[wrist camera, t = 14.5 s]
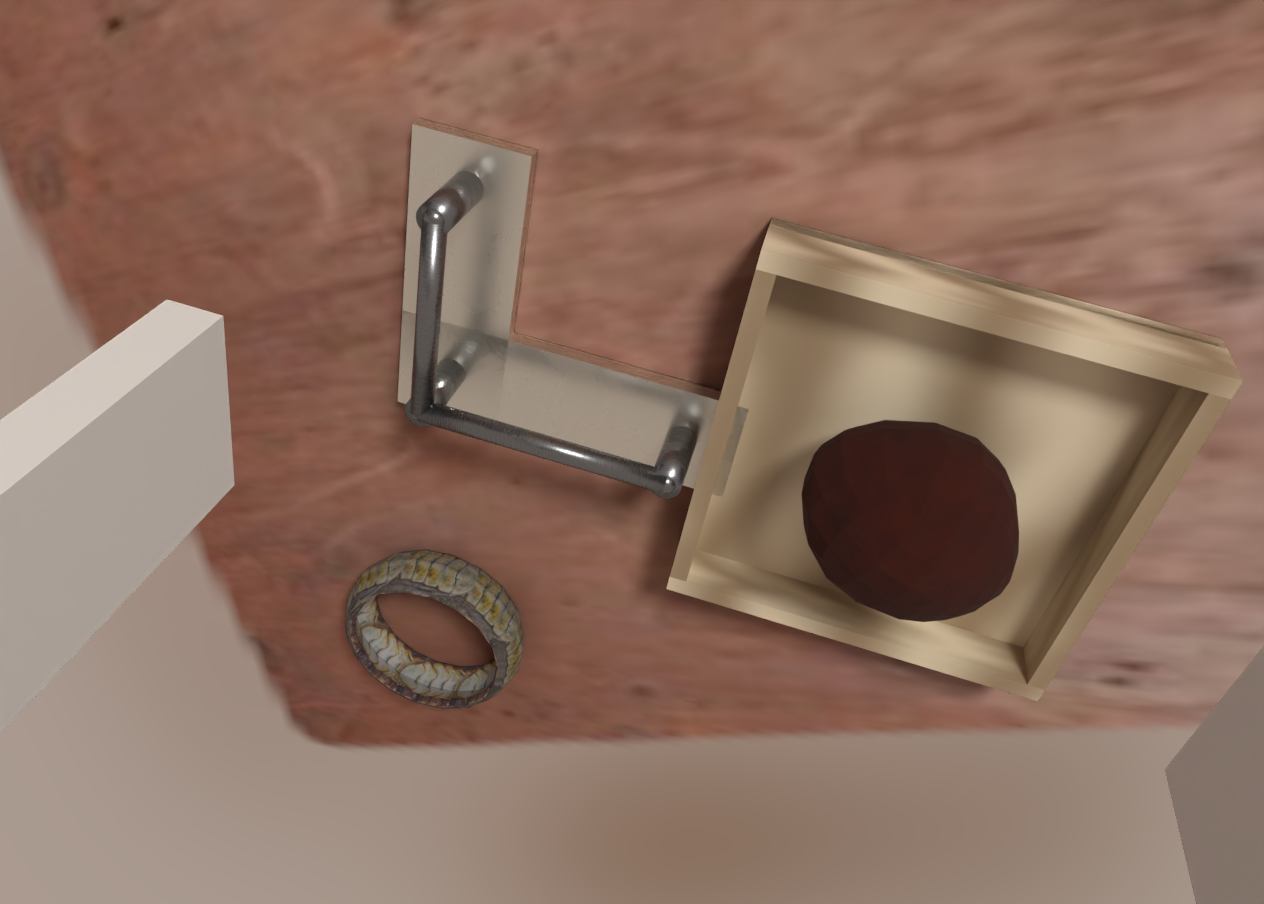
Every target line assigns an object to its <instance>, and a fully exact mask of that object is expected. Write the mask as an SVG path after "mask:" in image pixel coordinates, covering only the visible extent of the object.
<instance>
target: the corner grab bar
mask: <svg viewBox="0 0 1264 904" xmlns="http://www.w3.org/2000/svg"><path fill="white" fill-rule="evenodd" d="M537 153H538V150H536V149H533V148H529V147H525V146H521V145H518V144H514V143H510V142H507V141H503V140H499V139H495V138H492V137H488V136H484V135H480V134H477V133H473V132H469V131H466V130H462V129H458V128H454V127H451V126H447V125H443V124H440V123H436V122H432V121H428V120H425V119H421V118H420V119H419V120H417V121H416V122H415V123H413V124H412V139H411V158H410V177H409V196H408V215H407V234H406V252H405V271H404V290H403V309H402V328H401V347H400V366H399V384H398V402H401V403H404V404H406V405H405V414H406V416H407V418H408V419H409V420H410V421H411V422H412V423H414V424H415V425H418V426H422V427H426V426H430V425H432V426H435V427H438V428H442V429H445V430H449V431H452V432H455V433H459V434H462V435H466V436H469V437H472V438H476V439H479V440H483V441H486V442H489V443H493V444H496V445H499V446H503V447H506V448H510V449H513V450H516V451H520V452H523V453H527V454H530V455H533V456H537V457H540V458H543V459H547V460H550V461H554V462H557V463H560V464H564V465H567V466H571V467H574V468H577V469H581V470H584V471H588V472H591V473H594V474H598V475H601V476H604V477H608V478H611V479H615V480H618V481H621V482H625V483H628V484H632V485H635V486H638V487H642V488H645V489H649V490H651V491H652V492H653V493H654V494H655V495H657V496H659V497H661V498H666V499H669V498H674V497H676V496H677V495H678V494H679V493H680V491H681V488H682V485H683V486H687V487H690V488H693V489H694V488H695V484H696V481H697V477H698V474H699V470H700V467H701V463H702V459H703V456H704V452H705V449H706V445H707V442H708V438H709V434H710V431H711V427H712V424H713V420H714V417H715V413H716V409H717V406H718V402H719V399H720V395H721V392H722V391H719V390H716V389H712V388H709V387H705V386H701V385H698V384H694V383H691V382H687V381H684V380H680V379H677V378H673V377H670V376H666V375H663V374H659V373H656V372H652V371H649V370H645V369H642V368H638V367H635V366H631V365H628V364H624V363H621V362H617V361H614V360H610V359H607V358H603V357H600V356H596V355H593V354H589V353H586V352H582V351H579V350H575V349H572V348H568V347H565V346H561V345H558V344H554V343H551V342H547V341H544V340H540V339H537V338H533V337H530V336H526V335H523V334H519V333H516V332H514V331H515V323H516V316H517V308H518V300H519V292H520V285H521V277H522V269H523V262H524V254H525V246H526V238H527V231H528V223H529V215H530V207H531V200H532V192H533V184H534V176H535V169H536V161H537ZM738 407H739V406H738ZM738 409H739V408H737V412H736V413H737V414H738V416H739V417H737V415H736V417H737V418H739V420H740V419H742V418H743V419H742V421H743V422H739V423H741V425H742V426H744V422H745V420H746V419H745V418H746V417H747V414H748V411H749V409H746V408H741V407H740V409H739V410H738ZM743 410H745V411H743ZM747 410H748V411H747ZM738 411H740V412H741V413H742V414H741V415H739V413H738ZM743 415H744V416H743ZM745 415H746V416H745ZM741 416H742V418H740V417H741ZM737 418H736V419H737ZM734 419H735V418H734ZM736 419H735V420H736ZM744 419H745V420H744ZM734 422H735V421H734ZM734 422H733V423H734ZM739 423H738V424H739ZM736 424H737V421H736ZM738 424H737V425H738ZM741 425H738V427H739V426H741ZM742 426H741V429H742ZM732 427H733V426H732ZM736 427H737V426H736ZM738 427H737V428H738ZM731 429H735V427H734V428H731ZM735 430H736V429H735ZM739 430H740V429H739ZM732 431H733V430H731V433H732ZM741 431H742V430H741ZM741 431H739V433H737V432H738V431H737V432H735V431H734V432H733V434H732V435H734V434H735V433H736V434H737V436H736V437H738V436H739V435H738V434H740V432H741ZM731 433H730V435H731ZM736 434H735V435H736ZM730 435H729V436H730ZM740 435H741V434H740ZM730 437H732V436H730ZM730 437H729V438H728V440H731V439H732V438H733V437H732V438H731V439H730ZM738 438H740V436H739V437H738ZM738 438H737V440H738ZM732 440H735V441H734V442H736V441H737V440H736V439H735V437H734V438H733V439H732ZM732 440H731V441H732ZM734 442H733V443H734ZM738 442H739V440H738ZM738 442H736V444H737V443H738ZM729 443H731V442H729ZM731 444H732V443H731ZM736 444H735V445H736ZM738 444H739V443H738ZM727 445H729V444H727ZM727 445H726V447H727ZM735 445H733V449H734V446H735ZM730 446H731V445H730ZM737 446H738V445H736V446H735V447H737ZM728 448H729V446H728V447H727V448H726V449H728ZM726 449H725V450H726ZM733 449H732V450H733ZM736 450H737V449H736ZM736 450H735V451H736ZM726 451H727V450H726ZM726 451H725V453H726ZM730 451H731V450H730ZM730 451H729V452H730ZM735 451H734V452H735ZM725 453H724V454H725ZM728 454H729V453H728ZM728 454H726V456H728ZM730 454H731V453H730ZM731 456H732V457H733V455H731ZM728 457H730V455H729V456H728ZM728 457H727V458H728ZM725 458H726V457H725ZM725 458H724V459H725ZM727 458H726V459H727ZM733 458H734V457H733ZM727 460H728V459H727ZM729 460H730V458H729ZM730 461H731V460H730ZM722 462H723V461H722ZM722 462H721V463H722ZM724 462H725V460H724ZM726 462H728V463H732V461H731V462H729V461H726ZM728 463H727V464H726V467H728V466H727V465H730V464H728ZM722 465H723V464H722ZM722 465H721V466H722ZM721 466H720V467H721ZM726 467H725V468H726ZM730 467H731V466H730ZM722 468H723V467H722ZM730 469H731V468H730ZM730 469H729V468H728V471H730ZM719 471H720V472H721V474H722V471H721V469H720V470H719ZM720 472H719V473H720ZM719 473H718V474H719ZM726 473H727V469H726ZM729 473H730V472H729ZM721 474H720V476H721ZM724 476H725V474H724ZM726 476H727V475H726ZM718 477H719V475H718ZM727 477H728V476H727ZM727 477H726V478H727ZM722 478H723V477H722ZM723 479H725V477H724V478H723ZM727 479H728V478H727ZM716 481H717V480H716ZM721 481H722V480H721ZM721 481H720V482H719V483H720V484H721ZM725 482H726V481H725ZM717 483H718V482H717ZM726 483H727V482H726ZM715 484H716V482H715ZM722 484H723V483H722ZM723 485H724V484H723ZM716 486H717V484H716ZM721 486H722V485H721ZM724 486H725V485H724ZM724 486H723V487H724ZM719 487H720V486H719ZM723 487H722V488H723ZM715 489H716V488H714V490H715ZM717 489H718V488H717ZM719 489H720V488H719ZM724 490H725V489H724ZM716 491H717V490H716ZM718 491H720V490H718ZM721 492H722V491H721ZM713 493H714V492H713ZM722 495H723V494H722ZM717 496H718V495H717ZM721 497H722V496H721Z"/></svg>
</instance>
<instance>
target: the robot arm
mask: <svg viewBox="0 0 1264 904" xmlns="http://www.w3.org/2000/svg"><path fill="white" fill-rule="evenodd" d="M233 486H234V471H233V456H232V441H231V426H230V411H229V396H228V381H227V365H226V350H225V335H224V320H223V316H222V315H219V314H215V313H212V312H208V311H205V310H201V309H198V308H194V307H191V306H188V305H184V304H181V303H177V302H174V301H170V300H166V301H164V302H163V303H161V304H160V305H159V306H157V307H156V308H155V309H153V310H152V311H150V312H149V313H148V314H146V315H145V316H144V317H142V318H141V319H139V320H138V321H137V322H135V323H134V324H132V325H131V326H130V327H128V328H127V329H126V330H124V331H123V332H121V333H120V334H119V335H117V336H116V337H115V338H113V339H112V340H110V341H109V342H108V343H106V344H105V345H103V346H102V347H101V348H99V349H98V350H97V351H95V352H94V353H92V354H91V355H90V356H88V357H87V358H85V359H84V360H83V361H81V362H80V363H79V364H77V365H76V366H74V367H73V368H72V369H70V370H69V371H68V372H66V373H65V374H63V375H62V376H61V377H59V378H58V379H57V380H55V381H54V382H53V383H51V384H50V385H48V386H47V387H45V388H44V389H43V390H41V391H40V392H39V393H37V394H36V395H35V396H33V397H32V398H30V399H29V400H27V401H26V402H25V403H24V404H22V405H21V406H19V407H18V408H16V409H15V410H14V411H12V412H11V413H10V414H8V415H7V416H5V417H4V418H3V419H1V420H0V733H1V732H2V731H3V730H4V729H5V728H6V727H7V726H8V725H9V724H10V723H11V722H12V721H13V720H14V718H16V716H17V715H18V714H19V713H20V712H21V711H22V710H23V709H24V708H25V707H26V706H27V705H28V704H29V703H30V702H31V700H32V699H33V698H34V697H35V696H36V695H37V694H38V693H39V692H40V691H41V690H42V689H43V688H44V687H45V685H47V684H48V682H49V681H50V680H51V679H52V678H53V677H54V676H55V675H56V674H57V673H58V672H59V671H60V670H61V669H62V668H63V666H64V665H65V664H66V663H67V662H68V661H69V660H70V659H71V658H72V657H73V656H74V655H75V654H76V653H77V652H78V651H79V649H80V648H81V647H82V646H83V645H84V644H85V643H86V642H87V641H88V640H89V639H90V638H91V637H92V636H93V635H94V633H96V631H97V630H98V629H99V628H100V627H101V626H102V625H103V624H104V623H105V622H106V621H107V620H108V619H109V617H111V616H112V614H113V613H114V612H115V611H116V610H117V609H118V608H119V607H120V606H121V605H122V604H123V603H124V602H125V601H126V600H127V598H128V597H129V596H130V595H131V594H132V593H133V592H134V591H135V590H136V589H137V588H138V587H139V586H140V585H141V584H142V583H143V582H144V580H145V579H146V578H147V577H148V576H149V575H150V574H151V573H152V572H153V571H154V570H155V569H156V568H157V567H158V566H159V564H160V563H161V562H162V561H163V560H164V559H165V558H166V557H167V556H168V555H169V554H170V553H171V552H172V551H173V550H174V549H175V548H176V547H177V545H178V544H179V543H180V542H181V541H182V540H183V539H184V538H185V537H186V536H187V535H188V534H189V533H190V532H191V531H192V530H193V528H194V527H195V526H196V525H197V524H198V523H199V522H200V521H201V520H202V519H203V518H204V517H205V516H206V515H207V514H208V513H209V511H210V510H211V509H212V508H213V507H214V506H215V505H216V504H217V503H218V502H219V501H220V500H221V499H222V498H223V497H224V496H225V494H226V493H227V492H228V491H229V490H230V489H231V488H232V487H233ZM1165 772H1166V776H1167V781H1168V785H1169V789H1170V793H1171V798H1172V802H1173V806H1174V811H1175V815H1176V819H1177V823H1178V828H1179V832H1180V836H1181V841H1182V845H1183V849H1184V853H1185V858H1186V861H1187V866H1188V870H1189V875H1190V879H1191V883H1192V888H1193V892H1194V896H1195V901H1196V904H1264V647H1263V648H1262V649H1261V650H1260V652H1259V653H1258V654H1257V655H1256V657H1255V658H1254V659H1253V660H1252V662H1251V663H1250V664H1249V665H1248V667H1247V668H1246V669H1245V670H1244V672H1243V673H1242V674H1241V675H1240V677H1239V678H1238V679H1237V680H1236V682H1235V683H1234V684H1233V685H1232V686H1231V688H1230V689H1229V690H1228V691H1227V693H1226V694H1225V695H1224V696H1223V698H1222V699H1221V700H1220V701H1219V703H1218V704H1217V705H1216V706H1215V708H1214V709H1213V710H1212V711H1211V713H1210V714H1209V715H1208V716H1207V718H1206V719H1205V720H1204V721H1203V723H1202V724H1201V725H1200V726H1199V728H1198V729H1197V730H1196V731H1195V732H1194V734H1193V735H1192V736H1191V737H1190V739H1189V740H1188V741H1187V742H1186V744H1185V745H1184V746H1183V747H1182V749H1181V750H1180V751H1179V753H1178V754H1177V755H1176V756H1175V757H1174V759H1173V760H1172V761H1171V762H1170V764H1169V765H1168V766H1167V767H1166V769H1165Z"/></svg>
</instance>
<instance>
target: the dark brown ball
mask: <svg viewBox="0 0 1264 904" xmlns="http://www.w3.org/2000/svg"><path fill="white" fill-rule="evenodd" d="M801 494H802V508H803V523H804V529H805V533H806V538H807V542H808V545H809V547H810V549H811V551H812V553H813V554H814V556H815V558H816V560H817V562H818V564H819V565H820V567H821V569H822V571H823V573H824V575H825V577H826V578H827V579H828V580H829V581H831V582H832V583H833V584H834V585H836V586H837V587H838V588H840V589H841V590H842V591H843V592H845V593H846V594H847V595H848V596H850V597H851V598H852V599H853V600H855V601H856V602H857V603H859V604H862V605H864V606H867V607H869V608H872V609H874V610H877V611H879V612H882V613H884V614H887V615H889V616H892V617H894V618H897V619H900V620H909V621H918V622H930V621H941V620H948V619H952V618H956V617H959V616H963V615H966V614H969V613H972V612H975V611H976V610H977V609H979V608H980V607H982V606H983V605H985V604H986V603H988V602H989V601H991V600H993V599H994V598H996V597H997V596H999V595H1001V593H1002V592H1003V591H1004V589H1005V588H1006V586H1007V585H1008V584H1009V582H1010V580H1011V577H1012V574H1013V571H1014V568H1015V564H1016V560H1017V557H1018V553H1019V525H1018V513H1017V503H1016V494H1015V491H1014V489H1013V486H1012V484H1011V481H1010V479H1009V476H1008V474H1007V471H1006V469H1005V468H1004V466H1003V465H1002V463H1001V462H1000V461H999V459H998V458H997V457H996V456H995V455H994V454H993V453H992V452H991V451H990V450H989V449H988V448H987V447H986V446H985V445H984V444H983V443H982V442H981V441H980V440H979V439H978V438H976V437H973V436H971V435H968V434H965V433H962V432H960V431H957V430H954V429H952V428H949V427H946V426H943V425H941V424H938V423H935V422H916V421H897V420H882V421H878V422H874V423H870V424H866V425H861V426H857V427H853V428H850V429H847V430H844V431H843V432H841V433H839V434H838V435H836V436H835V437H833V438H832V439H830V440H828V441H827V442H825V443H824V444H822V445H821V446H820V447H819V449H818V450H817V451H816V452H815V454H814V455H813V458H812V460H811V463H810V465H809V468H808V470H807V473H806V475H805V478H804V483H803V488H802V493H801Z"/></svg>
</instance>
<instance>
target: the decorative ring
mask: <svg viewBox="0 0 1264 904" xmlns="http://www.w3.org/2000/svg"><path fill="white" fill-rule="evenodd" d="M400 592H406V593H410V594H415V595H420V596H425V597H430V598H432V599H434V600H437V601H439V602H441V603H443V604H445V605H447V606H449V607H451V608H453V609H455V610H457V611H458V612H459V613H461V614H462V615H463V616H464V617H466V618H467V619H468V620H469V621H470V622H472V623H473V624H474V625H475V626H477V627H478V628H479V630H480V631H481V633H482V634H483V636H484V637H485V638H486V640H487V641H488V643H489V644H490V646H491V647H492V649H493V653H494V657H495V660H494V661H491V662H489V663H486V664H484V665H481V666H462V667H460V666H455V665H450V664H446V663H441V662H437V661H435V660H433V659H430V658H428V657H426V656H424V655H422V654H420V653H418V652H416V651H414V650H413V649H412V648H410V647H409V646H408V645H407V644H405V643H404V642H403V641H402V640H400V639H399V638H398V637H397V636H396V635H395V634H394V633H393V631H392V630H391V629H390V627H389V626H388V625H387V623H386V622H385V621H384V619H383V618H382V615H381V612H380V609H379V606H378V603H377V600H376V597H377V595H379V594H388V593H400ZM346 634H347V637H348V639H349V642H350V645H351V647H352V650H353V653H354V655H355V656H356V657H357V658H358V660H359V661H360V662H361V664H362V665H363V666H364V667H365V669H366V670H367V671H368V672H369V674H370V675H372V676H373V677H374V678H376V679H377V680H378V681H379V682H381V683H382V684H383V685H385V686H386V687H387V688H388V689H390V690H391V691H393V692H395V693H397V694H399V695H401V696H403V697H406V698H408V699H410V700H412V701H414V702H416V703H420V704H424V705H429V706H433V707H438V708H442V709H450V708H469V707H471V706H474V705H476V704H479V703H481V702H484V701H487V700H489V699H490V698H492V697H494V696H495V695H497V694H498V693H499V692H500V691H501V690H502V689H503V688H504V686H505V685H506V684H507V683H508V682H509V681H510V680H511V679H512V678H513V676H514V675H515V674H516V673H517V672H518V669H519V665H520V660H521V656H522V652H523V646H524V635H523V631H522V627H521V623H520V619H519V614H518V610H517V607H516V606H515V604H514V603H513V602H512V600H511V599H510V597H509V596H508V594H507V593H506V591H505V590H504V588H503V587H502V586H501V585H500V584H499V583H498V582H496V581H495V580H494V579H493V578H492V577H490V576H489V575H488V574H487V573H486V572H484V571H483V570H482V569H481V568H479V567H477V566H475V565H473V564H471V563H469V562H467V561H465V560H462V559H460V558H458V557H456V556H454V555H450V554H445V553H440V552H435V551H430V550H418V551H408V552H400V553H397V554H394V555H391V556H389V557H387V558H385V559H384V560H382V561H380V562H378V563H376V564H374V565H372V566H371V567H369V568H368V569H367V570H366V571H365V572H363V573H362V575H361V576H360V578H359V579H358V581H357V582H356V584H355V585H354V587H353V588H352V590H351V592H350V594H349V597H348V600H347V611H346Z"/></svg>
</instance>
